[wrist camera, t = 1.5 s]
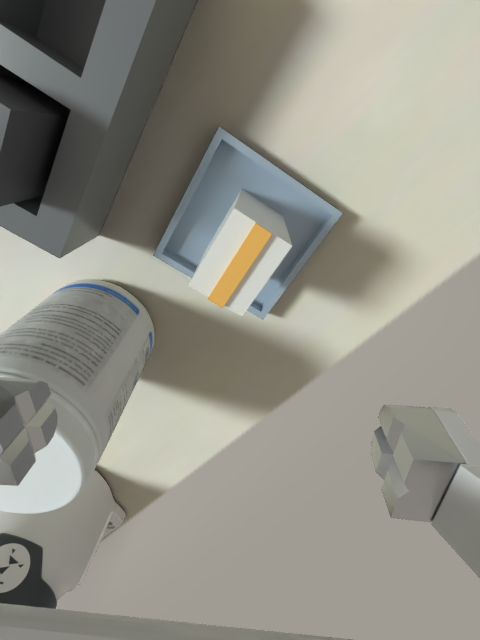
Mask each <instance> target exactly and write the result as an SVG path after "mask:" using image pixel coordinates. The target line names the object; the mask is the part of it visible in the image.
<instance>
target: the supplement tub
mask: <svg viewBox="0 0 480 640" xmlns="http://www.w3.org/2000/svg"><path fill="white" fill-rule="evenodd" d="M154 339H155V333H154V327H153V323H152V320H151V318H150V316H149V314H148V312H147V310H146V309H145V307H144V306H143V305H142V304H141V303H140V302H139V301H138V300H137V299H136V298H135V297H134V296H133V295H131V294H130V293H129V292H128V291H126V290H124V289H123V288H121V287H119V286H117V285H115V284H112V283H109V282H106V281H101V280H79V281H75V282H72V283H69V284H67V285H65V286H63V287H61V288H60V289H59V290H57V291H56V292H55V293H53V294H52V295H51V296H49V297H48V298H47V299H45V300H44V301H43V302H42V303H40V304H39V305H38V306H36V307H35V308H34V309H33V310H31V311H30V312H29V313H28V314H26V315H25V316H24V317H22V318H21V319H20V320H19V321H17V322H16V323H15V324H13V325H12V326H11V327H10V328H8V329H7V330H6V331H4V332H3V333H2V334H1V335H0V377H2V378H3V377H8V378H18V379H29V380H40V381H43V382H46V383H48V386H49V389H50V392H51V395H50V397H49V398H48V400H47V401H49V402H50V403H51V404H52V405H53V406H54V407H55V408H56V412H57V427H56V430H55V433H54V436H53V438H52V439H51V441H50V442H49V444H48V445H47V446H46V447H44V448H43V449H41V450H39V451H38V452H36V453H35V457H36V462H35V463H34V465H33V466H32V467H31V469H30V470H29V471H28V473H27V474H26V476H25V477H24V478H23V480H22V481H21V483H20V484H19V485H18V486H11V485H0V511H4V512H11V513H22V514H34V513H42V512H48V511H52V510H56V509H59V508H61V507H63V506H65V505H67V504H69V503H70V502H71V501H73V500H74V499H75V498H76V497H77V496H78V495H79V493H80V492H81V490H82V488H83V487H84V485H85V483H86V481H87V479H88V478H89V477H90V476H91V475H92V473H93V472H94V470H95V468H96V466H97V464H98V462H99V460H100V457H101V455H102V453H103V451H104V450H105V448H106V446H107V444H108V441H109V439H110V437H111V435H112V433H113V431H114V429H115V427H116V425H117V423H118V421H119V418H120V416H121V414H122V412H123V410H124V408H125V406H126V404H127V402H128V400H129V398H130V395H131V393H132V391H133V389H134V387H135V385H136V383H137V381H138V379H139V377H140V375H141V373H142V371H143V369H144V366H145V364H146V362H147V360H148V358H149V356H150V354H151V352H152V349H153V346H154Z"/></svg>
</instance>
